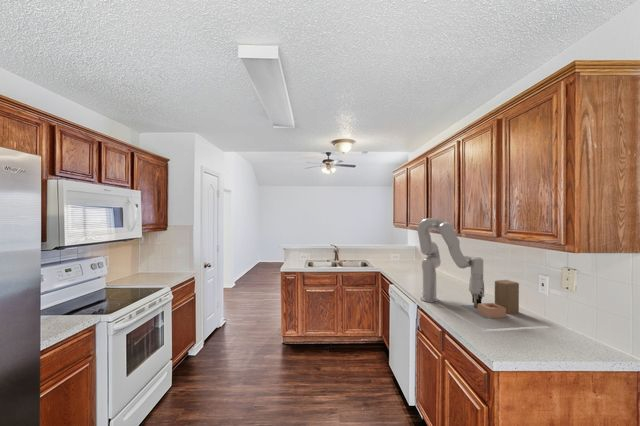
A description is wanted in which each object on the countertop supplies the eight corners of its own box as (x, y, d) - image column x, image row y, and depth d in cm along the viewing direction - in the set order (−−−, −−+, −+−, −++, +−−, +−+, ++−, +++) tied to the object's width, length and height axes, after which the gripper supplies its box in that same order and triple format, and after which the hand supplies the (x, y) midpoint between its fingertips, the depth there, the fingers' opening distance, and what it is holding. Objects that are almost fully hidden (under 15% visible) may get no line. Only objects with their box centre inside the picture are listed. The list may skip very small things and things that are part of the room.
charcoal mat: (459, 306, 209) (459, 305, 209) (482, 305, 211) (482, 304, 211) (485, 320, 183) (485, 318, 183) (511, 318, 185) (511, 317, 185)
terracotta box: (477, 312, 195) (477, 303, 195) (493, 311, 196) (493, 302, 196) (489, 318, 184) (489, 308, 184) (505, 317, 185) (506, 308, 185)
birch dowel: (472, 306, 205) (472, 292, 205) (477, 306, 206) (477, 291, 206) (476, 308, 202) (476, 293, 202) (481, 308, 202) (481, 293, 202)
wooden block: (505, 309, 204) (505, 279, 204) (519, 314, 194) (519, 282, 194) (493, 310, 201) (494, 280, 201) (507, 315, 191) (507, 283, 191)
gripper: (464, 273, 212) (464, 300, 212) (479, 279, 195) (479, 307, 195) (474, 273, 213) (474, 300, 213) (490, 278, 196) (490, 307, 196)
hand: (476, 303), depth 204 cm, fingers closed on birch dowel, 3 cm apart
